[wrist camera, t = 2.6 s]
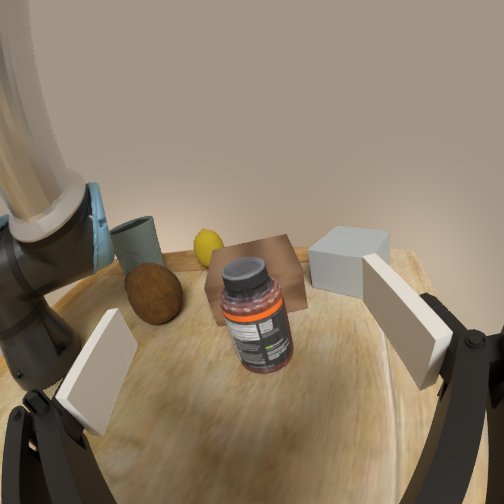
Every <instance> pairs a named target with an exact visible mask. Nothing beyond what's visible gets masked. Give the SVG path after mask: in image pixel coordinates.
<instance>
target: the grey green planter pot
mask: <svg viewBox="0 0 504 504" xmlns="http://www.w3.org/2000/svg"><path fill="white" fill-rule="evenodd" d="M109 233H110V237H111V241H112V245H113V248H114V253H115V255H116V257H117V259H118V260H119V263H120V265H121V267H122V269H123V270H124V273H125V276H126V275H127V274H128V273H129V272H130V271H132V270H133V269H134V268H135V267H137V266H139V265H140V264H142V263H151V262H154V263H157V264H159V265H162V266H164V267H166V266H165V263H164V262H163V256H162V252H161V249H160V246H159V242H158V238H157V234H156V229H155V225H154V220H153V217H152V216H145V217H140V218H137V219H134V220H131V221H128V222H126V223H123V224H121V225H119V226H117V227H115V228H113V229H112V230H110V231H109Z"/></svg>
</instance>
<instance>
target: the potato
mask: <svg viewBox="0 0 504 504" xmlns="http://www.w3.org/2000/svg"><path fill="white" fill-rule="evenodd" d="M125 289H126V291H127V295H128V300H129V302H130V304H131V306H132V308H133V310H134V311H135V313H136V314H137V315H138V316H139V317H140V319H142V320H143V321H145V322H147V323H150V324H161V323H165V322H167V321H168V320H170V319H172V318H173V317H174V316H175V315H176V314H177V312H178V310H179V308H180V306H181V301H182V288H181V283H180V281H179V280H178V278H177V277H176V276H175V274H173V273H172V272H171V271H170V270H169V269H167V268H166V267H164V266H162V265H159V264H157V263H154V262H151V263H142V264H140V265H139V266H137V267H135V268H134V269H133V270H132V271H130V272H129V273H128V274H127V275H126V277H125Z"/></svg>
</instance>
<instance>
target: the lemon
mask: <svg viewBox="0 0 504 504" xmlns="http://www.w3.org/2000/svg"><path fill="white" fill-rule="evenodd" d="M220 248H224V245H223V242H222V240H221V238H220V237H219V235H218V234H217V233H216V232H214V231H211V230H206V229H202V230H201V232H200V233H198V235H197V236H196V237H195V240H194V252H195V255H196V258H197V259H198V261H199V262H200V263H201V264H202V265H204V266H206V267H209V264H210V260H211V255H212V251H213V250H215V249H220Z"/></svg>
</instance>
